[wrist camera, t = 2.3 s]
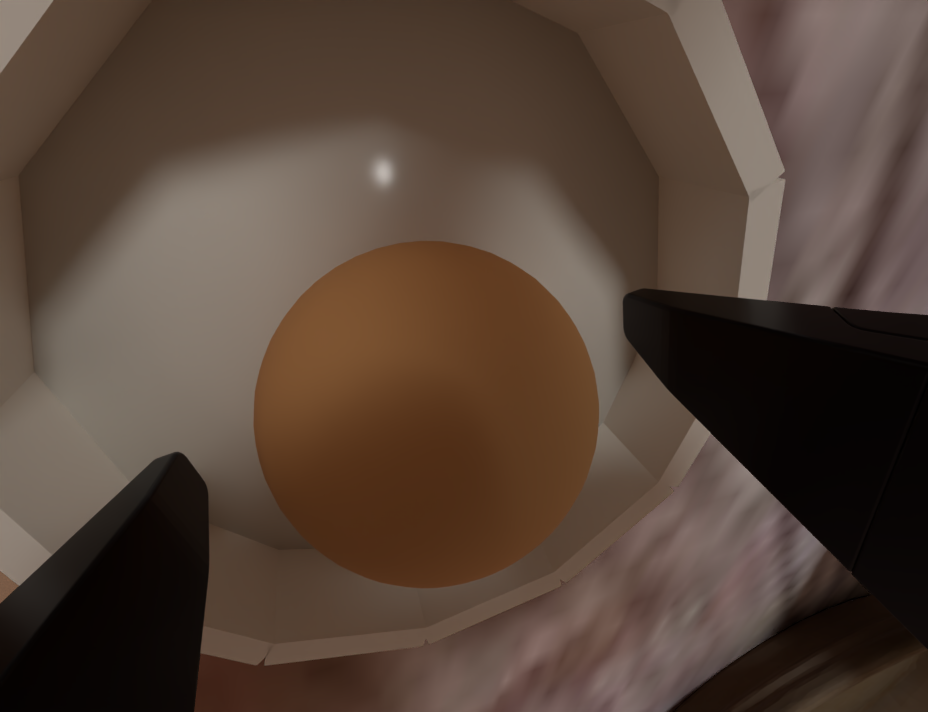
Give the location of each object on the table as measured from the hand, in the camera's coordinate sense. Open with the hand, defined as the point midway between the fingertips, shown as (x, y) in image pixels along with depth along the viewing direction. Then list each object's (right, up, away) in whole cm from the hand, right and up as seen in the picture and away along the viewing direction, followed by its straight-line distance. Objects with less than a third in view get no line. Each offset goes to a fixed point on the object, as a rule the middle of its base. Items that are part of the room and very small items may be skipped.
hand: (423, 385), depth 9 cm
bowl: (-1, +1, +3) cm, 3 cm away
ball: (-1, +1, +2) cm, 2 cm away
